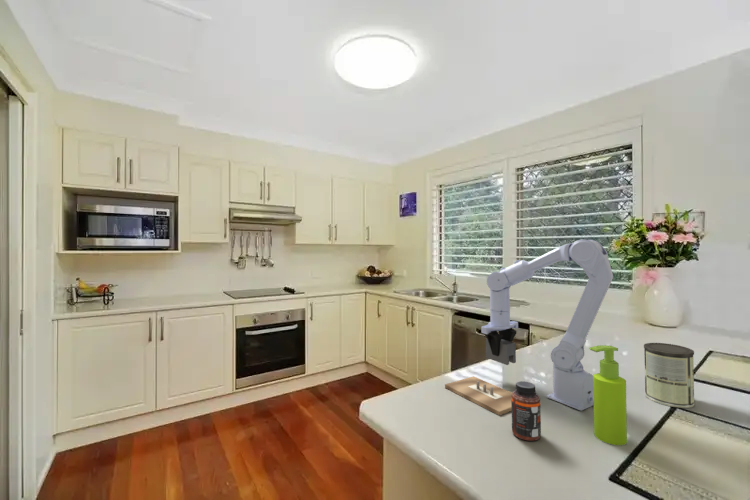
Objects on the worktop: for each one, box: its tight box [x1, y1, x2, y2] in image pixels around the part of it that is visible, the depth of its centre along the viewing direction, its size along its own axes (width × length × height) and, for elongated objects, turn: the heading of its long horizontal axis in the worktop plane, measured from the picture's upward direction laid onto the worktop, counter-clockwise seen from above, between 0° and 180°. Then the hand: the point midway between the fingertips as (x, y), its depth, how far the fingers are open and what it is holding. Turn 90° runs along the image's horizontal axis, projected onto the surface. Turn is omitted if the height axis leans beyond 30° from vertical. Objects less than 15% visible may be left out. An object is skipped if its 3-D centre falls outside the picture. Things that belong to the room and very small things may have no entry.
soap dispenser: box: [588, 344, 628, 446], centre depth 73 cm, size 6×7×20 cm
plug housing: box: [485, 338, 517, 366], centre depth 105 cm, size 8×4×6 cm, turn 30°
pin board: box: [444, 376, 513, 416], centre depth 96 cm, size 20×12×3 cm, turn 30°
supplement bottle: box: [511, 380, 542, 442], centre depth 75 cm, size 6×6×11 cm
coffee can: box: [643, 342, 696, 409], centre depth 91 cm, size 10×10×14 cm
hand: (500, 353), depth 104 cm, fingers closed on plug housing, 4 cm apart
